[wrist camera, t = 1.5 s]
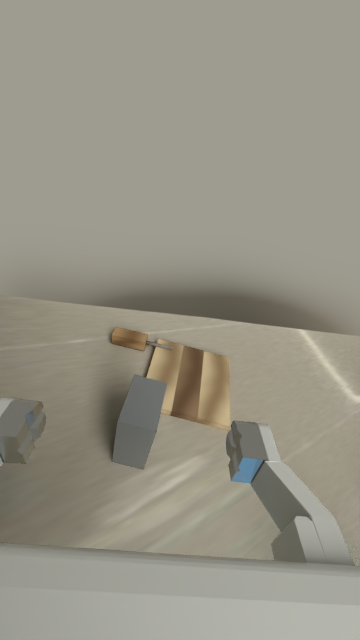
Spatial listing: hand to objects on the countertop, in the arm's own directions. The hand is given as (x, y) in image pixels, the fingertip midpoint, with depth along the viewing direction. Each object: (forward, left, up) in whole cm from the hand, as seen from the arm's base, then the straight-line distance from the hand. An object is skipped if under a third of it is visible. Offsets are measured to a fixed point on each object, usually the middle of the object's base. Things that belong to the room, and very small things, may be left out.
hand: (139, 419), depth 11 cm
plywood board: (+6, +22, -24) cm, 33 cm away
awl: (-4, +27, -24) cm, 36 cm away
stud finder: (0, +10, -24) cm, 26 cm away
